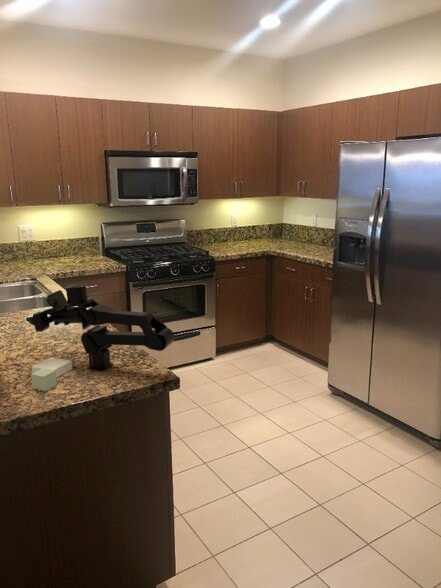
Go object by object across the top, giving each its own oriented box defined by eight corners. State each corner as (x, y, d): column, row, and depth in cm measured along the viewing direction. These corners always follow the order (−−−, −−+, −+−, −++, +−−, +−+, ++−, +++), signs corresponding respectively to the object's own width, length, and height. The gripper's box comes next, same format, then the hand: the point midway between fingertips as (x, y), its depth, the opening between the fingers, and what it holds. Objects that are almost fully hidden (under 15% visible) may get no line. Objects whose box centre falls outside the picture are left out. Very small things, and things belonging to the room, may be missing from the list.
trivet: (72, 369, 161) (71, 360, 160) (53, 379, 153) (52, 370, 152) (51, 365, 165) (51, 357, 164) (32, 375, 157) (31, 366, 156)
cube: (56, 385, 149) (55, 370, 148) (45, 391, 145) (43, 376, 143) (44, 382, 151) (42, 368, 150) (32, 389, 147) (31, 374, 145)
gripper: (84, 285, 169) (48, 287, 174) (49, 299, 152) (11, 300, 157) (89, 315, 171) (54, 315, 177) (56, 332, 154) (18, 332, 160)
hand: (35, 315), depth 167 cm, fingers open, 9 cm apart
